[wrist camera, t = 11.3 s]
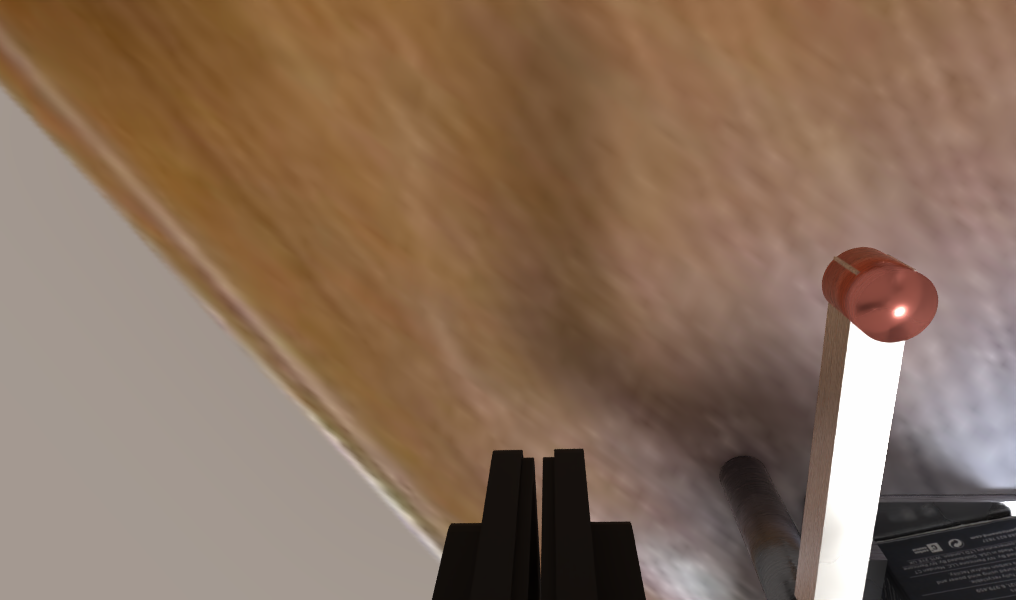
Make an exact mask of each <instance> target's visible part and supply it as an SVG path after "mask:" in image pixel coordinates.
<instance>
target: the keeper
mask: <svg viewBox="0 0 1016 600" xmlns="http://www.w3.org/2000/svg"><path fill="white" fill-rule="evenodd" d="M720 482H721V484H722V487H723V489H724V492H725V494H726V497H727V499H728V502H729V504H730V507H731V510H732V512H733V515H734V517H735V520H736V522H737V525H738V527H739V530H740V532H741V535H742V537H743V540H744V542H745V545H746V547H747V550H748V552H749V555H750V558H751V560H752V563H753V565H754V568H755V570H756V573H757V575H758V578H759V580H760V583H761V585H762V588H763V590H764V593H765V595H766V598H767V600H793V599H796V597H795V595H794V594H795V585H796V577H797V568H798V559H799V551H800V542H801V536H800V534H799V532H798V530H797V529H796V527H795V525H794V523H793V521H792V519H791V517H790V515H789V513H788V511H787V509H786V507H785V505H784V504H783V502H782V500H781V498H780V496H779V494H778V492H777V490H776V488H775V486H774V484H773V482H772V481H771V479H770V477H769V475H768V473H767V471H766V469H765V467H764V465H763V464H762V463H761V462H760V461H759V460H757V459H755V458H752V457H748V456H741V457H737V458H734V459H732V460H730V461H728V462H727V463H726V464H725V465H724V466H723V468H722V469H721V472H720ZM805 500H806V496H805ZM804 508H805V504H804ZM1009 516H1016V495H969V496H879V501H878V507H877V513H876V519H875V525H874V531H873V537H872V543H871V550H870V556H869V562H868V568H867V574H866V580H865V586H864V592H863V598H862V600H883V599H882V589H883V583H884V578H885V572H886V566H887V561H888V560H887V558H886V557H885V555H884V554H883V552H882V551H881V549H880V548H879V547H878V545H877V544H876V542H877V541H885V540H890V539H895V538H899V537H904V536H909V535H914V534H919V533H924V532H929V531H934V530H938V529H945V528H950V527H955V526H958V525H966V524H970V523H977V522H980V521H987V520H994V519H1000V518H1003V517H1009ZM803 517H804V513H803ZM802 525H803V521H802ZM801 534H802V530H801Z"/></svg>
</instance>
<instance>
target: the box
mask: <svg viewBox="0 0 1016 600" xmlns="http://www.w3.org/2000/svg"><path fill="white" fill-rule="evenodd" d="M876 544H877V545H878V547H879V548H880V549H881V551H882V552H883V554H884V555H885V557H886V558H887V560H888V561H887V566H886V572H885V578H884V583H883V589H882V599H883V600H1016V516H1009V517H1003V518H1000V519H994V520H987V521H980V522H977V523H970V524H966V525H958V526H955V527H950V528H945V529H938V530H934V531H929V532H924V533H919V534H914V535H909V536H904V537H899V538H895V539H890V540H885V541H877V542H876Z"/></svg>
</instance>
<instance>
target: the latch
mask: <svg viewBox="0 0 1016 600" xmlns="http://www.w3.org/2000/svg"><path fill="white" fill-rule="evenodd" d="M822 290H823V294H824V296H825V298H826V300H827V301H828V302H829V303H828V311H827V320H826V328H825V337H824V345H823V354H822V362H821V371H820V380H819V388H818V397H817V405H816V414H815V422H814V431H813V440H812V448H811V457H810V465H809V474H808V482H807V491H806V500H805V508H804V517H803V525H802V534H801V542H800V551H799V559H798V568H797V577H796V585H795V594H794V595H795V597H796V599H793V600H862V598H863V592H864V586H865V580H866V574H867V568H868V562H869V556H870V550H871V543H872V537H873V531H874V525H875V519H876V513H877V507H878V501H879V495H880V489H881V482H882V476H883V470H884V464H885V458H886V452H887V446H888V440H889V434H890V428H891V421H892V415H893V409H894V403H895V397H896V391H897V385H898V379H899V373H900V367H901V360H902V354H903V348H904V342H905V340H908V339H910V338H912V337H914V336H916V335H918V334H919V333H920V332H922V331H923V330H924V329H925V328H926V327H927V326H928V325H929V324H930V322H931V321H932V319H933V318H934V316H935V313H936V311H937V307H938V295H937V291H936V289H935V287H934V285H933V283H932V282H931V281H930V280H929V279H928V278H927V277H925V276H923V275H922V274H920V273H918V272H916V270H915V269H913V268H912V267H910V266H908V265H906V264H904V263H903V262H901V261H899V260H897V259H895V258H894V257H892V256H890V255H886V254H884V253H882V252H881V251H879V250H876V249H873V248H868V247H860V248H854V249H850V250H848V251H845V252H843V253H842V254H840V255H839V256H837V257H834V260H833V261H832V262H831V263H830V264H829V265H828V267H827V269H826V271H825V273H824V275H823V279H822Z"/></svg>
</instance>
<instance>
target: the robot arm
mask: <svg viewBox="0 0 1016 600" xmlns="http://www.w3.org/2000/svg"><path fill="white" fill-rule="evenodd" d="M432 600H646V598H645V592H644V587H643V582H642V577H641V571H640V566H639V561H638V555H637V550H636V545H635V540H634V534H633V529H632V525H631V523H630V522H590V512H589V502H588V491H587V481H586V470H585V460H584V450H583V449H554V457H543V487H542V546H541V573H540V555H539V537H538V519H537V500H536V482H535V464H534V458H523V451H522V450H494V451H493V454H492V460H491V466H490V473H489V479H488V486H487V492H486V499H485V505H484V512H483V518H482V523H451V525H450V526H449V529H448V532H447V536H446V541H445V545H444V550H443V554H442V558H441V563H440V567H439V571H438V576H437V580H436V584H435V589H434V593H433V598H432Z"/></svg>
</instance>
